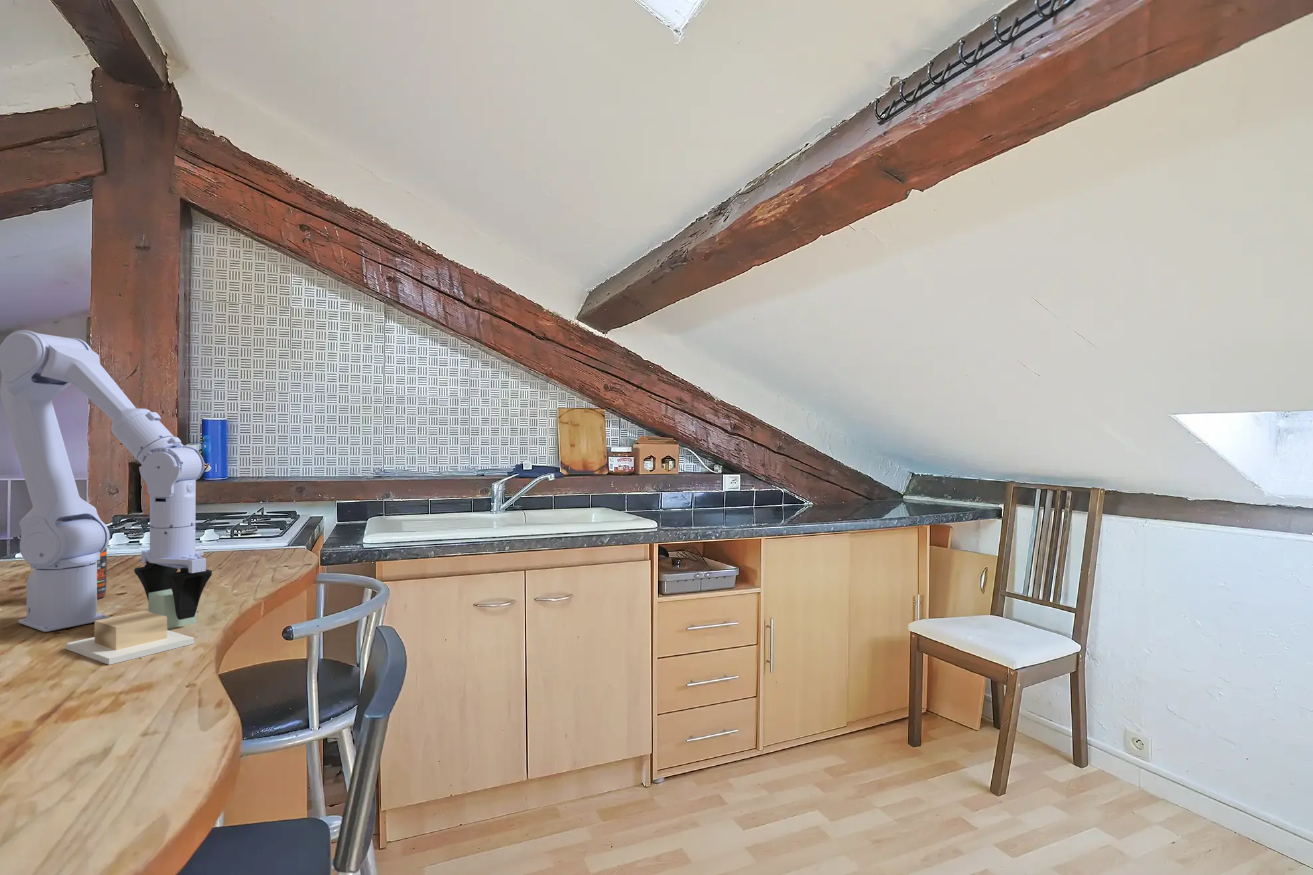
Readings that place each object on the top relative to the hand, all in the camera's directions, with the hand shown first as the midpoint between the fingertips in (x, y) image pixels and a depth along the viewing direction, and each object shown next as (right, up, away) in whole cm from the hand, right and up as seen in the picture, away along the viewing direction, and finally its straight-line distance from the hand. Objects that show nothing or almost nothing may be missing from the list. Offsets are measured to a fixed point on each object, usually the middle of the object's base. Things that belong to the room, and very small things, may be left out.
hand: (172, 614), depth 104 cm
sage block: (0, -2, 0) cm, 2 cm away
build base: (+2, -2, -11) cm, 11 cm away
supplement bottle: (-25, -1, +14) cm, 29 cm away
